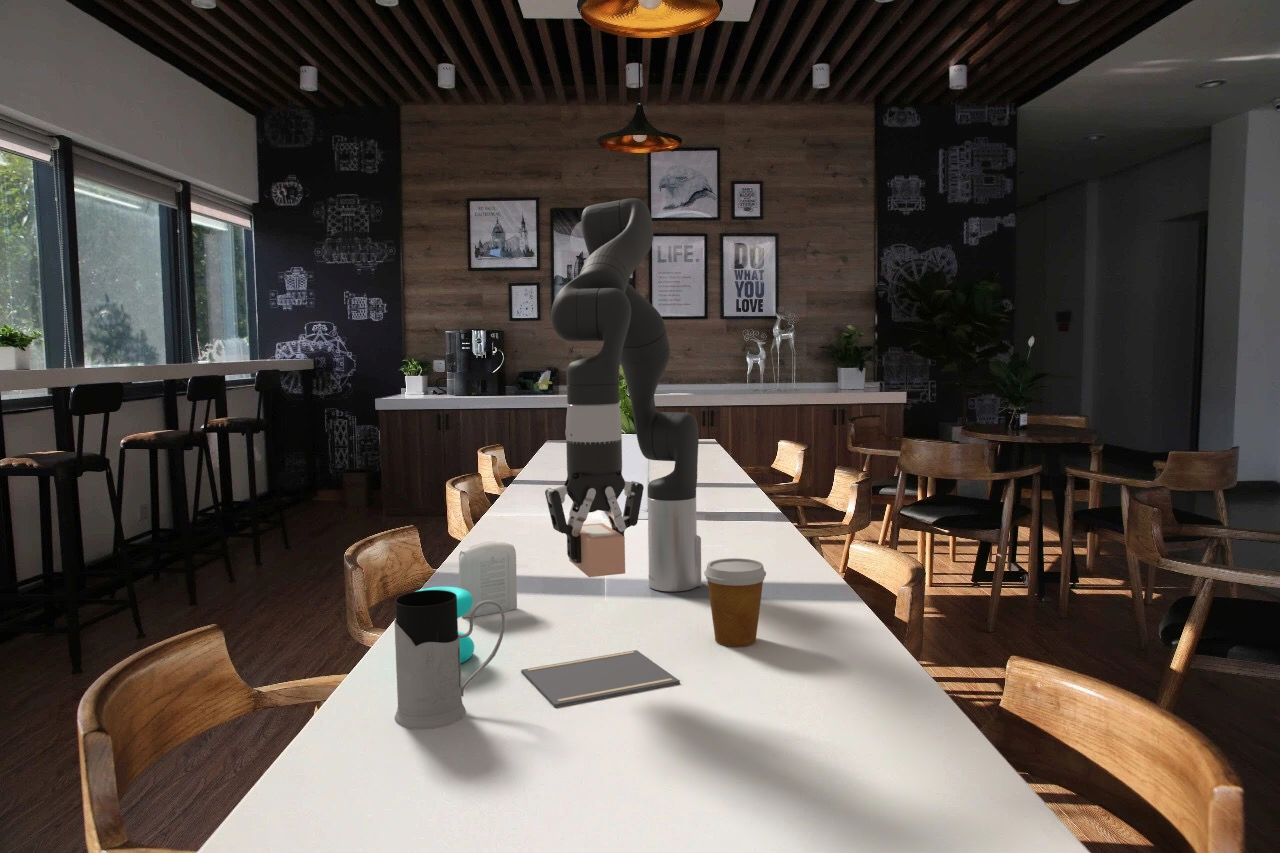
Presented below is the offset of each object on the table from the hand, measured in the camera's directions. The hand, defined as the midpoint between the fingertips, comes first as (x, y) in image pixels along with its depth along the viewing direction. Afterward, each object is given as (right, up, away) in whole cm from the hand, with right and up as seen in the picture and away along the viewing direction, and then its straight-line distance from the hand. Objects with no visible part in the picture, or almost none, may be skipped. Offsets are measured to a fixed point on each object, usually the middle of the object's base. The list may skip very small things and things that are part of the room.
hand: (596, 559), depth 125 cm
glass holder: (-18, -18, -9) cm, 27 cm away
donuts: (-24, -17, +10) cm, 31 cm away
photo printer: (-20, -14, +34) cm, 42 cm away
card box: (0, -1, 0) cm, 1 cm away
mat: (0, -17, +1) cm, 17 cm away
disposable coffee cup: (+21, -15, +16) cm, 31 cm away
